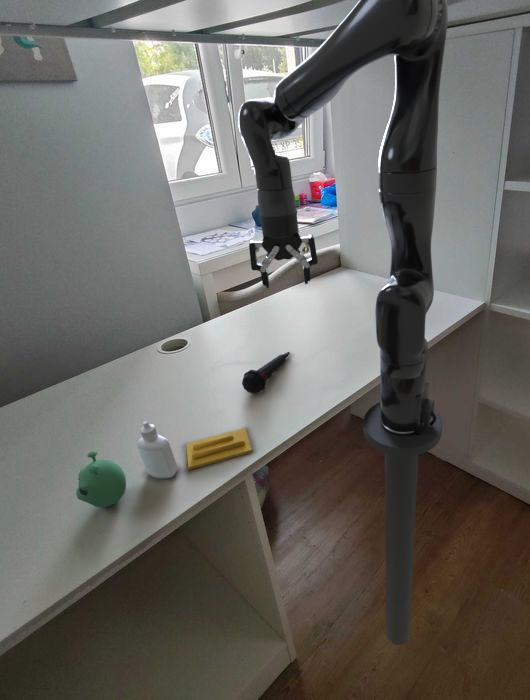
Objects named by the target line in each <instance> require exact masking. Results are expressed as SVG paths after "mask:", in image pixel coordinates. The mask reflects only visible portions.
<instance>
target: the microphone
mask: <svg viewBox="0 0 530 700" xmlns="http://www.w3.org/2000/svg"><path fill="white" fill-rule="evenodd" d="M289 355H290V351H287V352H284V354H279V355H277V356H276V357H274V358H273V359H272V360H270V361H268V362H267V363H266V364H264V365H262V367H260V368H258V369H257V370H255V369H250V370H248V371H246V372H245V373H244V374H243V378H242V382H241V385H242V387H243V389H244V390H245V391H246V392H247V393H248V394H249V393H250V394H259V393H261V392H263V391H264V390H265V389H266V385H267V381H268V380H270V379H271V378H272V377H273V375H274V374H275V373H276V372H277V370H279V369H280V367H282V366H283V365H284V364H285V363H286V361H287V358H288V357H289Z"/></svg>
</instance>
